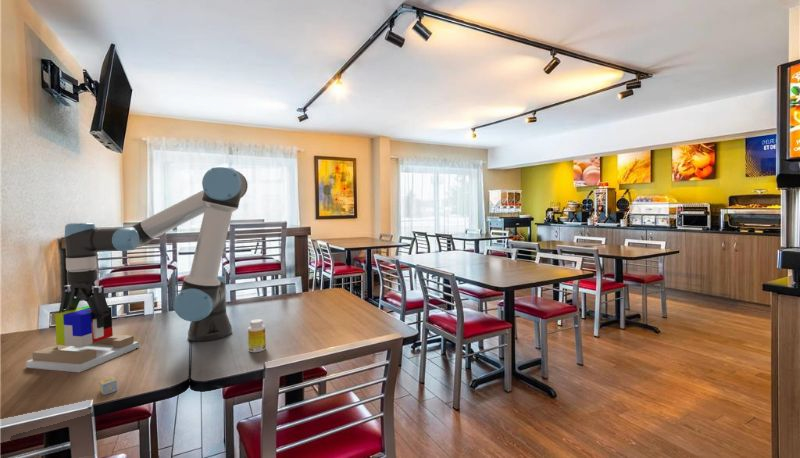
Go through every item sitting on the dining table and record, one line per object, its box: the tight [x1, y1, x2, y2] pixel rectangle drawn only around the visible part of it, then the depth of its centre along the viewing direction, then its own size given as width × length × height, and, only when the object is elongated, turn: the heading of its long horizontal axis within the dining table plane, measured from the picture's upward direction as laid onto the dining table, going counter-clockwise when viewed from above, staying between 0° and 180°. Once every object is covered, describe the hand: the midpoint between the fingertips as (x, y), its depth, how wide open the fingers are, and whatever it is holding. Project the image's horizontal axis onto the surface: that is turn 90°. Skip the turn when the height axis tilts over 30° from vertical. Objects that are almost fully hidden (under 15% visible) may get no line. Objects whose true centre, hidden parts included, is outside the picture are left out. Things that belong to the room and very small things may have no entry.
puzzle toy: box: [54, 305, 114, 347], centre depth 119 cm, size 10×10×10 cm
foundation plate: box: [25, 334, 140, 373], centre depth 120 cm, size 20×20×4 cm
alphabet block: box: [99, 377, 118, 396], centre depth 97 cm, size 3×3×3 cm
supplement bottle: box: [247, 318, 267, 353], centre depth 125 cm, size 6×6×10 cm
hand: (85, 336), depth 120 cm, fingers closed on puzzle toy, 10 cm apart
